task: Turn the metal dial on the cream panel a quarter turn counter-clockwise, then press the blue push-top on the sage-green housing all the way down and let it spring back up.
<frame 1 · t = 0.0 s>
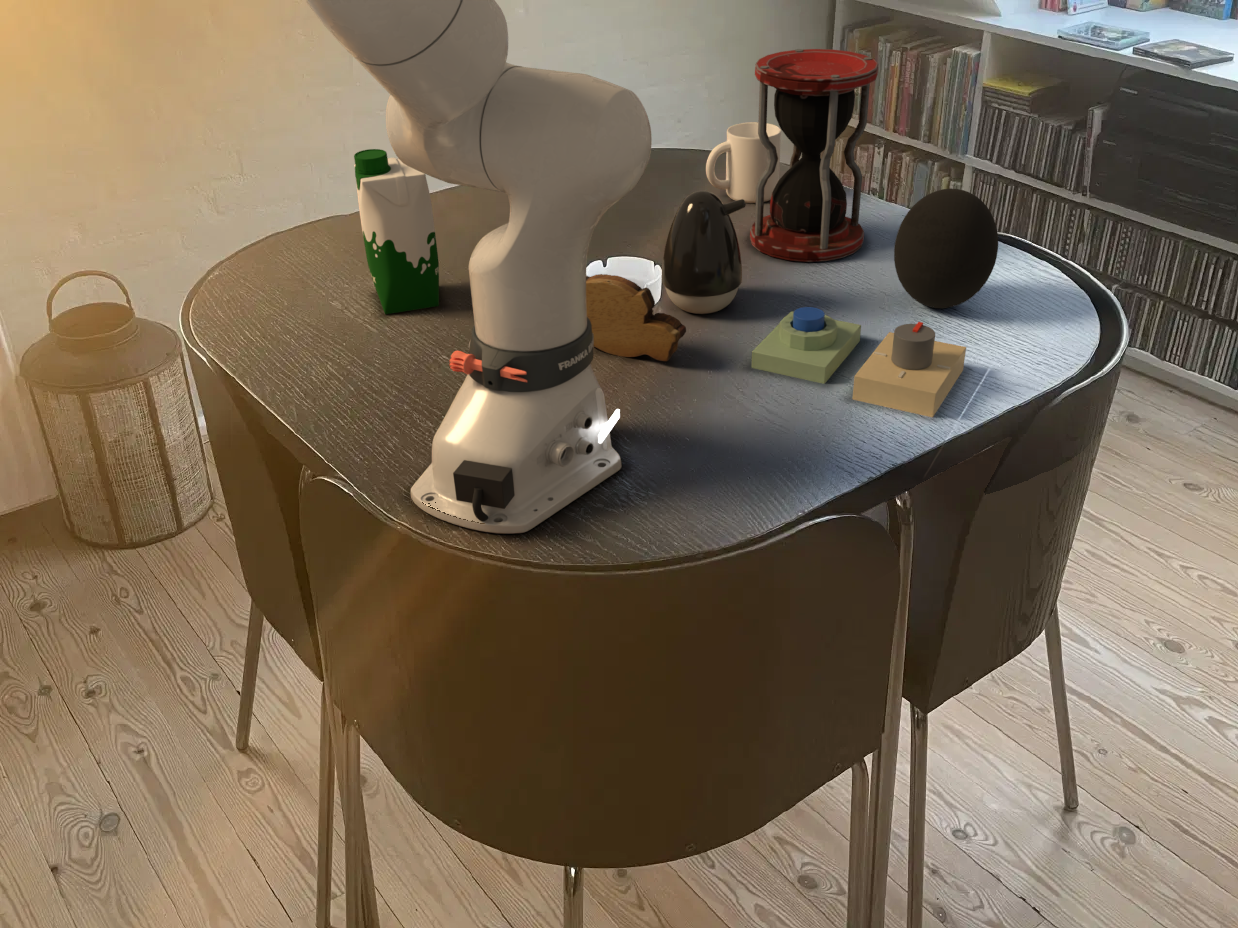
button housing: (806, 354, 139), on the table
hourglass: (806, 242, 169), on the table
dial: (913, 345, 129), point 5 cm above the table, hinge at 0.0°
decorative egg: (938, 306, 149), on the table
mug: (741, 197, 185), on the table
milk carton: (408, 301, 156), on the table
wooden carving: (622, 354, 141), on the table
pump dispenser: (702, 307, 151), on the table
button: (808, 320, 137), point 4 cm above the table, slide at 0.1 cm
dial panel: (908, 384, 132), on the table
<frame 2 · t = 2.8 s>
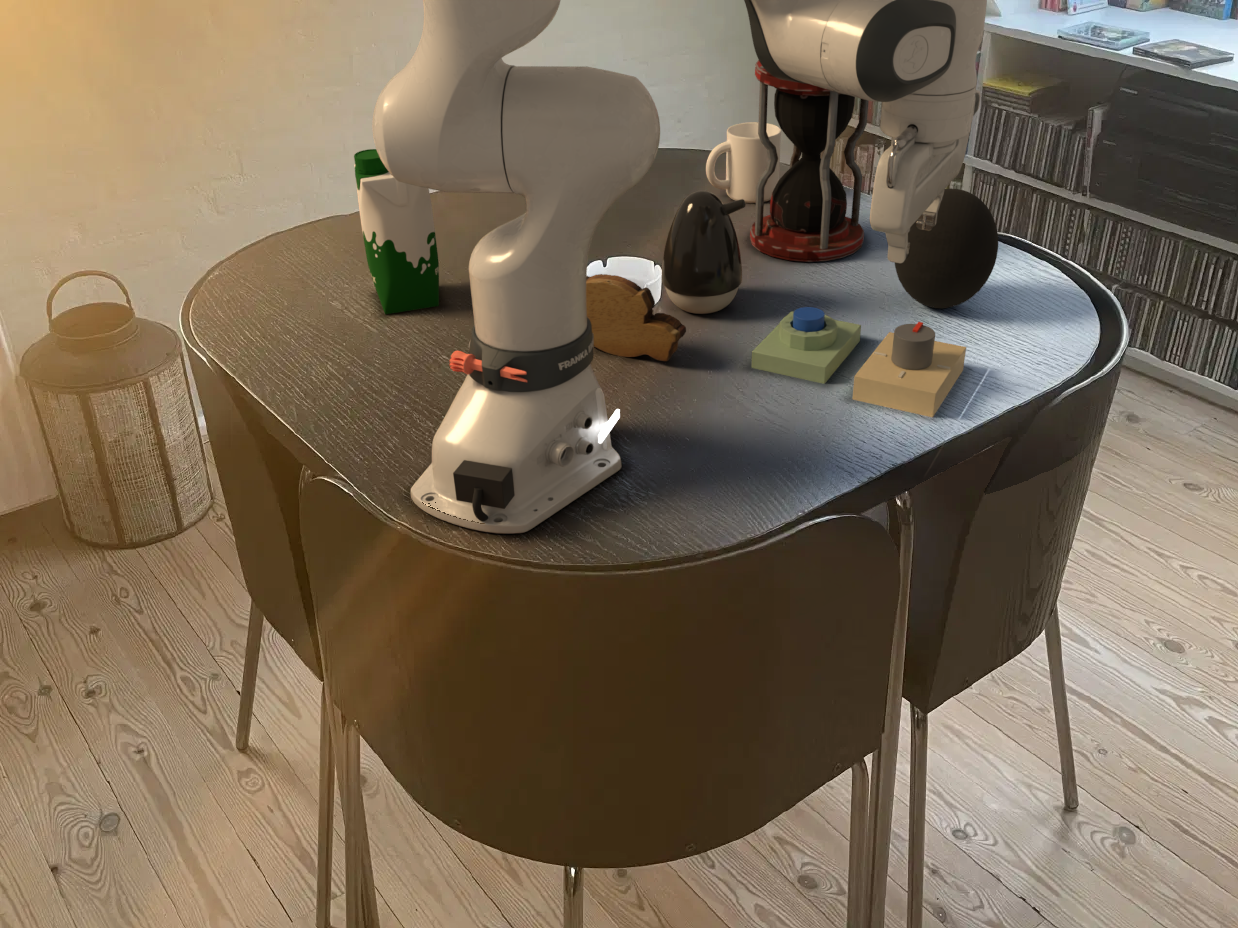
hand: (912, 243, 124), 17 cm above the table, tool pointing down, fingers open, 8 cm apart
nothing on the table moved.
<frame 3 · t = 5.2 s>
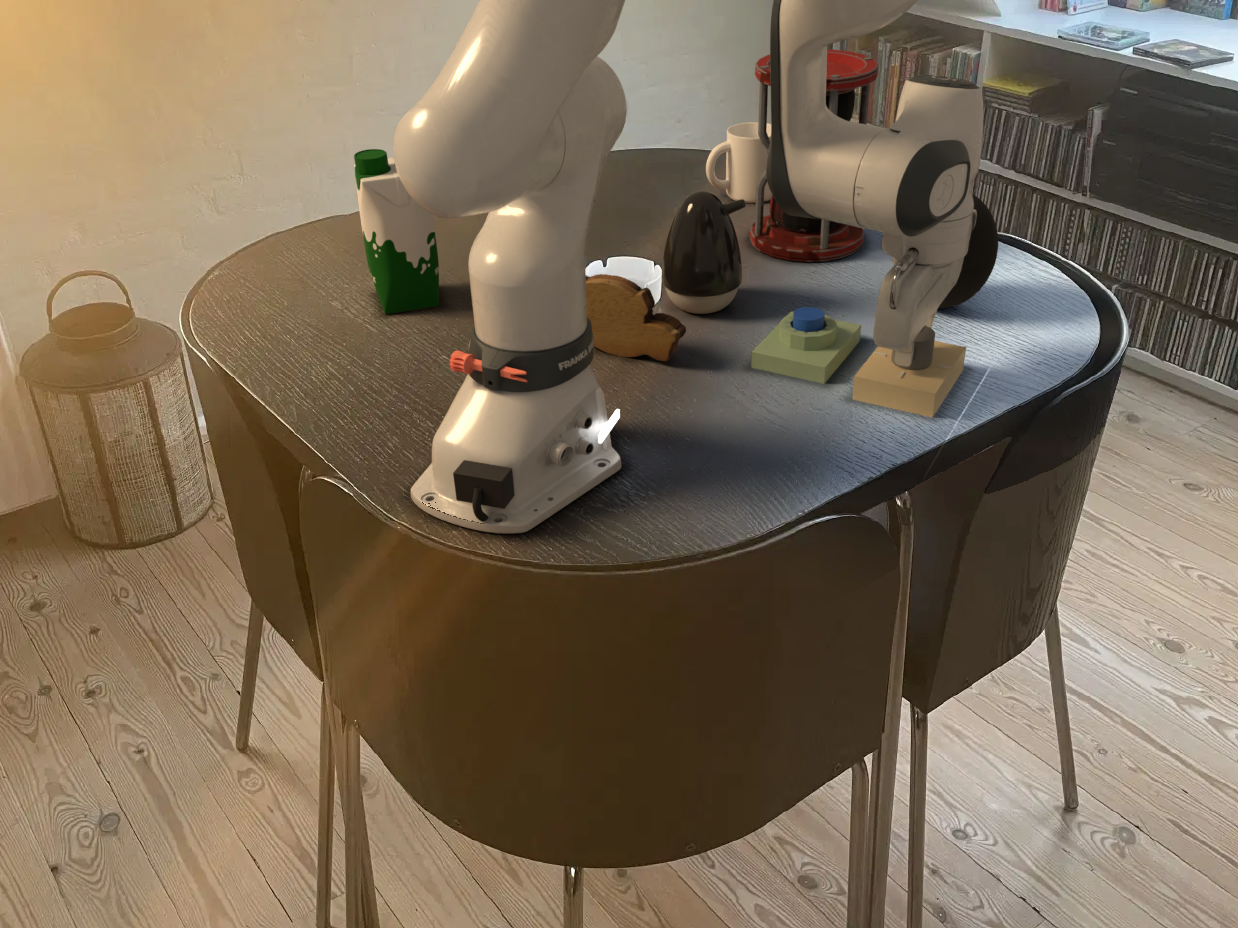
hand: (912, 352, 130), 4 cm above the table, tool pointing down, fingers closed on dial, 4 cm apart
dial: (913, 345, 129), point 5 cm above the table, hinge at 0.5°, touching gripper
everything else where it was.
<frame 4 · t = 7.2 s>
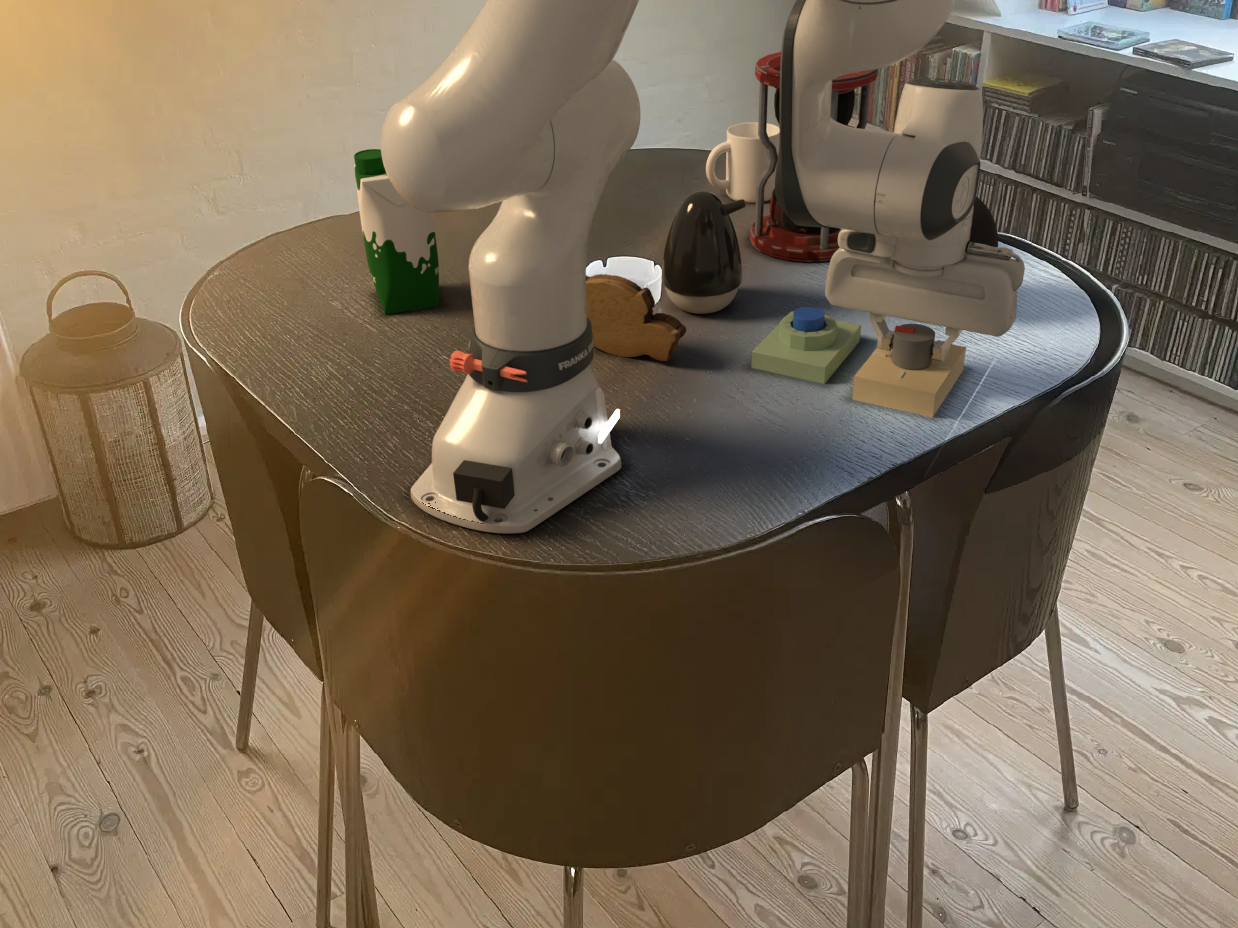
hand: (912, 353, 130), 4 cm above the table, tool pointing down, fingers open, 5 cm apart
dial: (913, 345, 129), point 5 cm above the table, hinge at 91.1°
everything else where it was.
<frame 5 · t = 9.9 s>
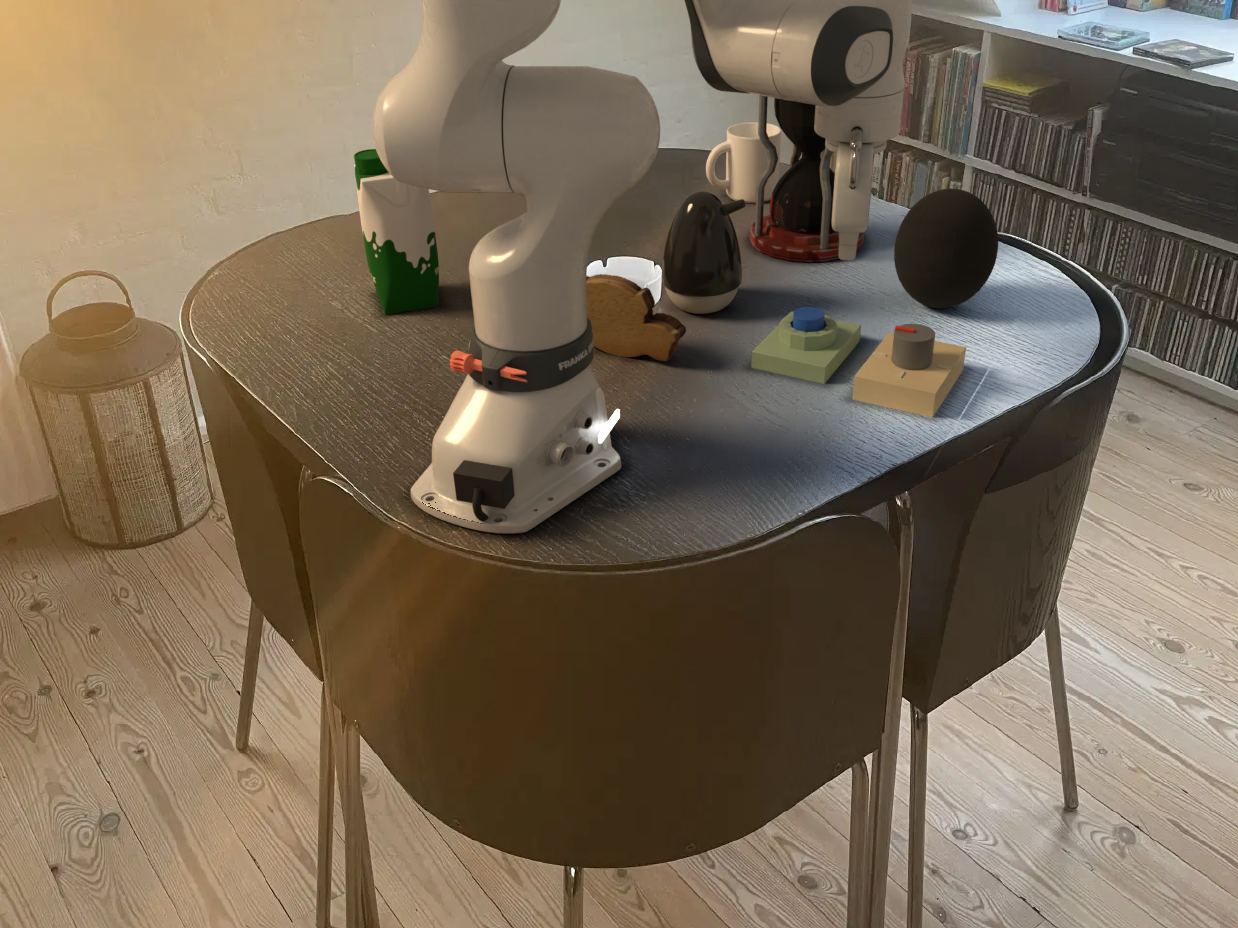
hand: (848, 241, 129), 15 cm above the table, tool pointing down, fingers open, 8 cm apart
nothing on the table moved.
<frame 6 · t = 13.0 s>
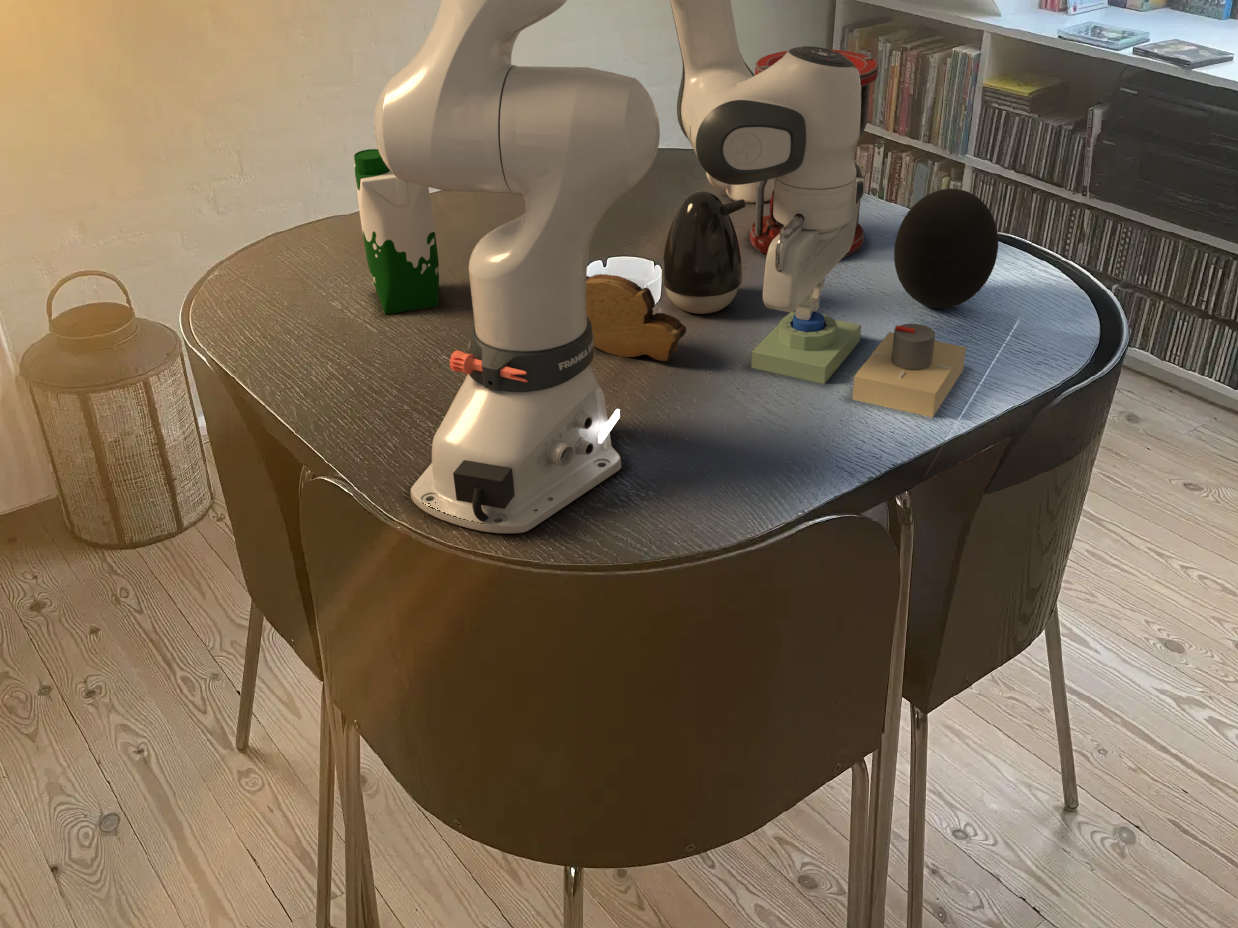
hand: (806, 314, 137), 5 cm above the table, tool pointing down, fingers closed, pressing on button
button: (808, 324, 137), point 4 cm above the table, slide at -0.4 cm, touching gripper
everything else where it was.
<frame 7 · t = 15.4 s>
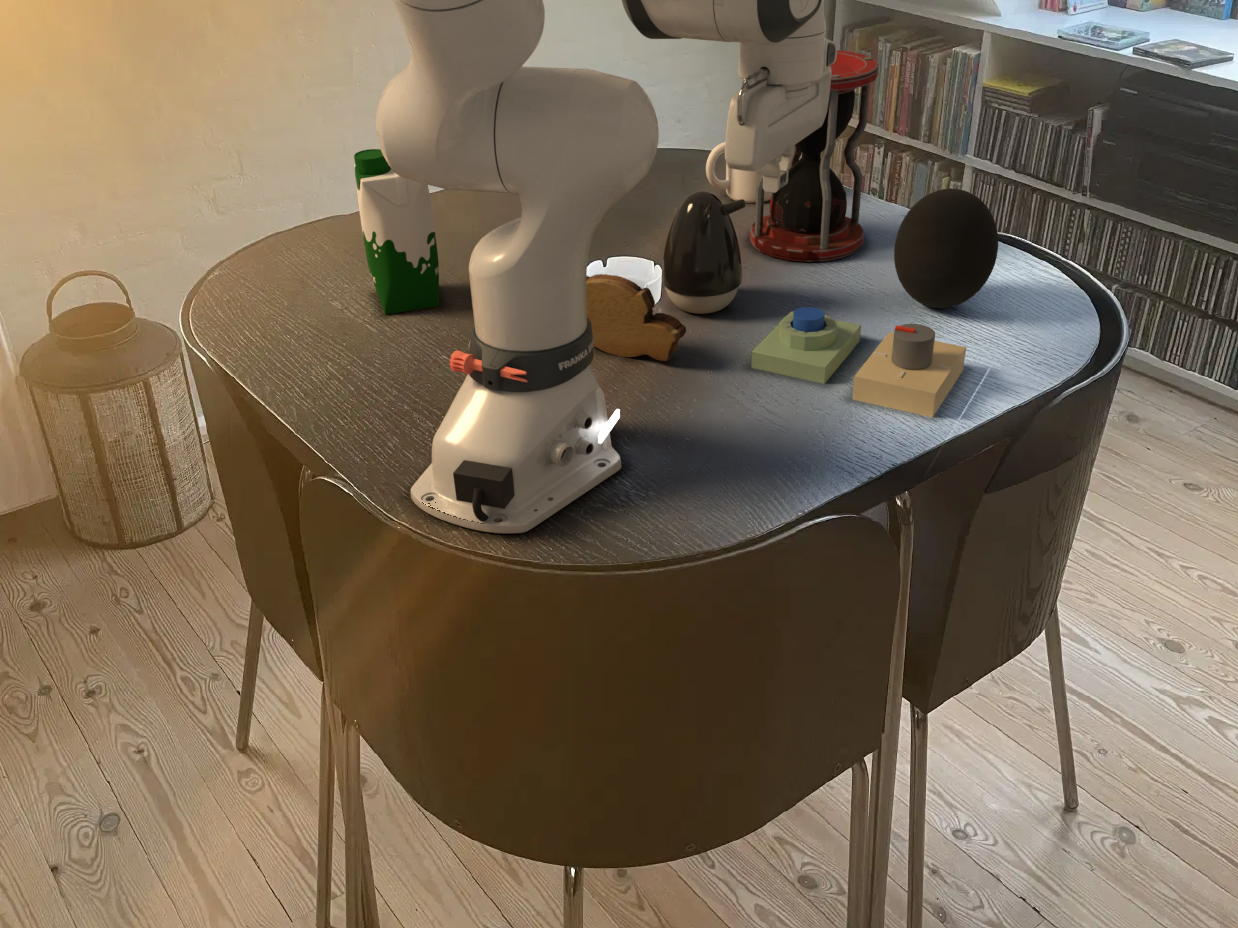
hand: (775, 188, 129), 20 cm above the table, tool pointing down, fingers closed
button: (808, 320, 137), point 4 cm above the table, slide at 0.1 cm
everything else where it was.
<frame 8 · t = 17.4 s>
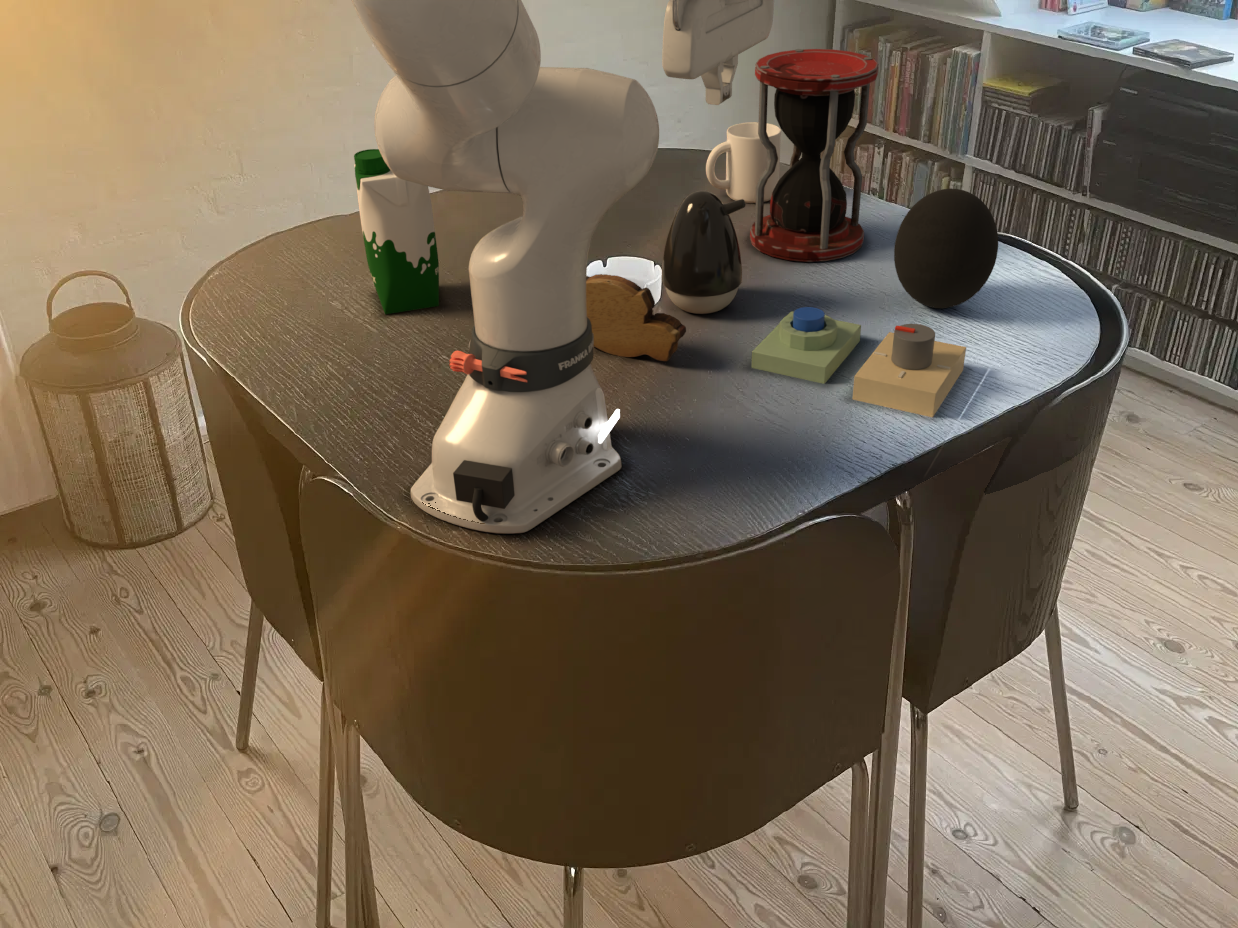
hand: (718, 101, 127), 29 cm above the table, tool pointing down, fingers closed
nothing on the table moved.
at the end: dial at +91° (first picture: +0°); button pushed in 1.1 cm at the most during the clip, back to where it started at the end; button slide at 0.1 cm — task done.
